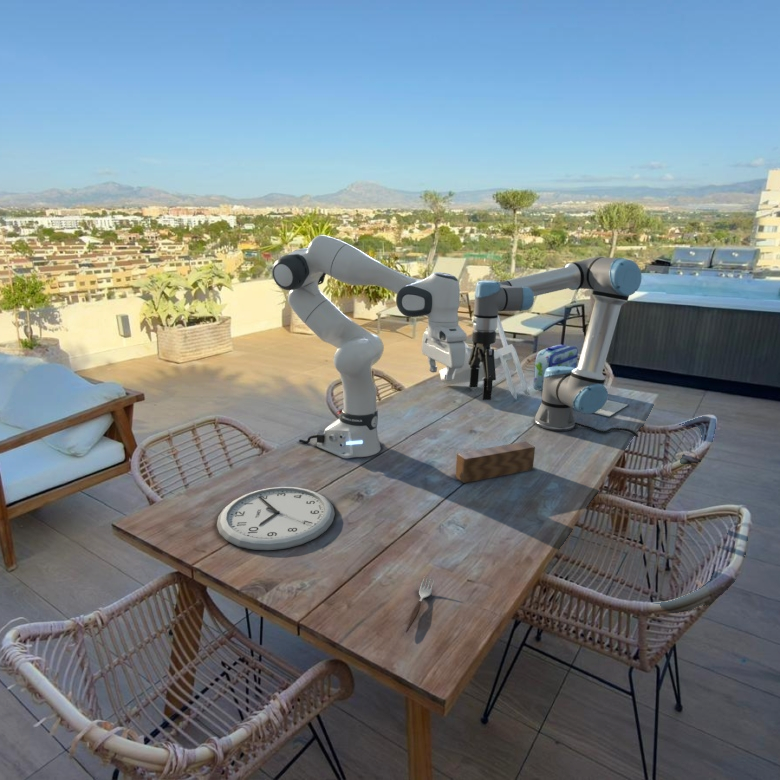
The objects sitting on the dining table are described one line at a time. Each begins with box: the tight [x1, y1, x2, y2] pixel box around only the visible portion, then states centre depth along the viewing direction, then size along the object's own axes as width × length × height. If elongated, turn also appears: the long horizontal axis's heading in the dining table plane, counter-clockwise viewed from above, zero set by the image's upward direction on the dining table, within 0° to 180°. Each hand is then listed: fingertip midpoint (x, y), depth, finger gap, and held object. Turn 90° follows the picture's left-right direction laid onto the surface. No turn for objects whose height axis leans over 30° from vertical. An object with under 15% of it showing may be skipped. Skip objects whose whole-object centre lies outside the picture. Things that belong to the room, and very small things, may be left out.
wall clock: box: [216, 486, 336, 551], centre depth 136 cm, size 30×2×30 cm
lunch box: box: [533, 344, 579, 392], centre depth 247 cm, size 26×11×21 cm, turn 134°
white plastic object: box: [438, 315, 531, 400], centre depth 245 cm, size 37×45×31 cm
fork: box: [405, 574, 436, 633], centre depth 105 cm, size 3×16×2 cm, turn 160°
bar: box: [455, 441, 536, 484], centre depth 162 cm, size 25×5×8 cm, turn 113°
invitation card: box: [594, 399, 629, 418], centre depth 226 cm, size 21×1×15 cm
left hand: (440, 375), depth 156 cm, fingers open, 8 cm apart
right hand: (479, 393), depth 174 cm, fingers open, 13 cm apart
